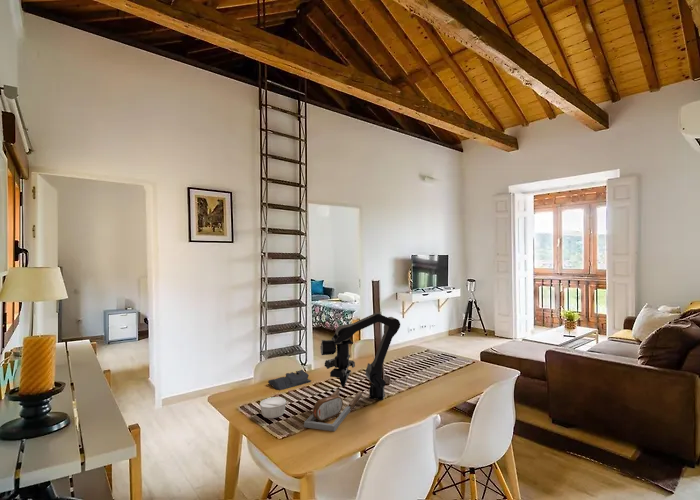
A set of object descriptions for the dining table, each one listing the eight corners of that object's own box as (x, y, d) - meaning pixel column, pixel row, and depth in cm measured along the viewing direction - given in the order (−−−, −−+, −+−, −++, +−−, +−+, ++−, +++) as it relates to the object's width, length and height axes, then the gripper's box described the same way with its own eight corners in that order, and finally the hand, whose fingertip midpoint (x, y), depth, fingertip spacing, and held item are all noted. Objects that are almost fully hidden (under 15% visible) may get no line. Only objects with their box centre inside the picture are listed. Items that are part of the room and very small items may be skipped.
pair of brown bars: (361, 396, 182) (361, 392, 182) (351, 409, 167) (351, 404, 167) (336, 393, 186) (336, 389, 186) (324, 406, 171) (324, 401, 171)
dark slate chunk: (264, 384, 202) (264, 375, 202) (298, 375, 217) (298, 367, 217) (278, 392, 191) (278, 382, 191) (314, 382, 205) (314, 373, 205)
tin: (339, 411, 166) (339, 391, 166) (344, 413, 163) (343, 393, 164) (312, 421, 155) (312, 401, 155) (317, 424, 153) (316, 403, 153)
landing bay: (350, 411, 165) (350, 406, 165) (334, 431, 146) (334, 426, 146) (323, 407, 169) (322, 403, 169) (304, 427, 150) (304, 422, 151)
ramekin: (260, 421, 157) (260, 408, 157) (259, 410, 167) (259, 398, 168) (287, 417, 160) (287, 405, 160) (284, 407, 171) (284, 395, 171)
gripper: (333, 347, 188) (334, 378, 188) (319, 357, 171) (319, 391, 170) (355, 349, 185) (355, 381, 185) (342, 359, 167) (342, 394, 167)
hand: (343, 386), depth 177 cm, fingers closed
